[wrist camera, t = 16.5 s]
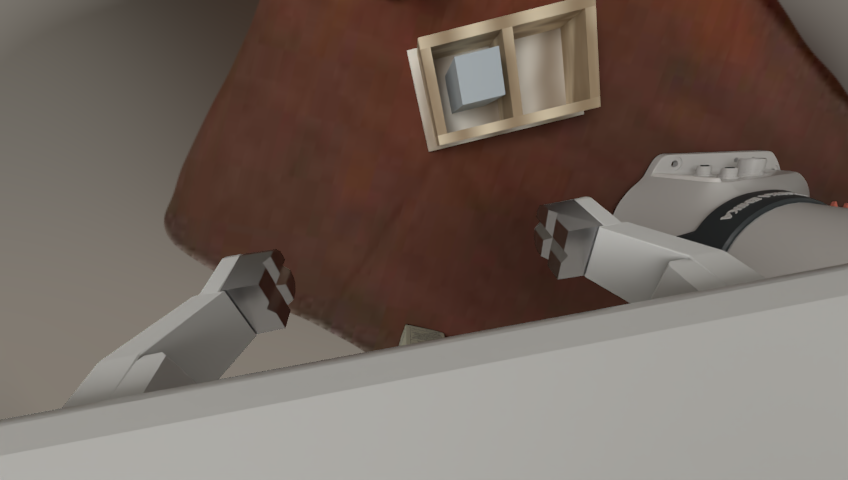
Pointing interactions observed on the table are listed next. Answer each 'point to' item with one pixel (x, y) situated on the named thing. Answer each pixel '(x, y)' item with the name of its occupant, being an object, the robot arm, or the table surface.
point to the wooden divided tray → (512, 72)
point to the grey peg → (475, 79)
